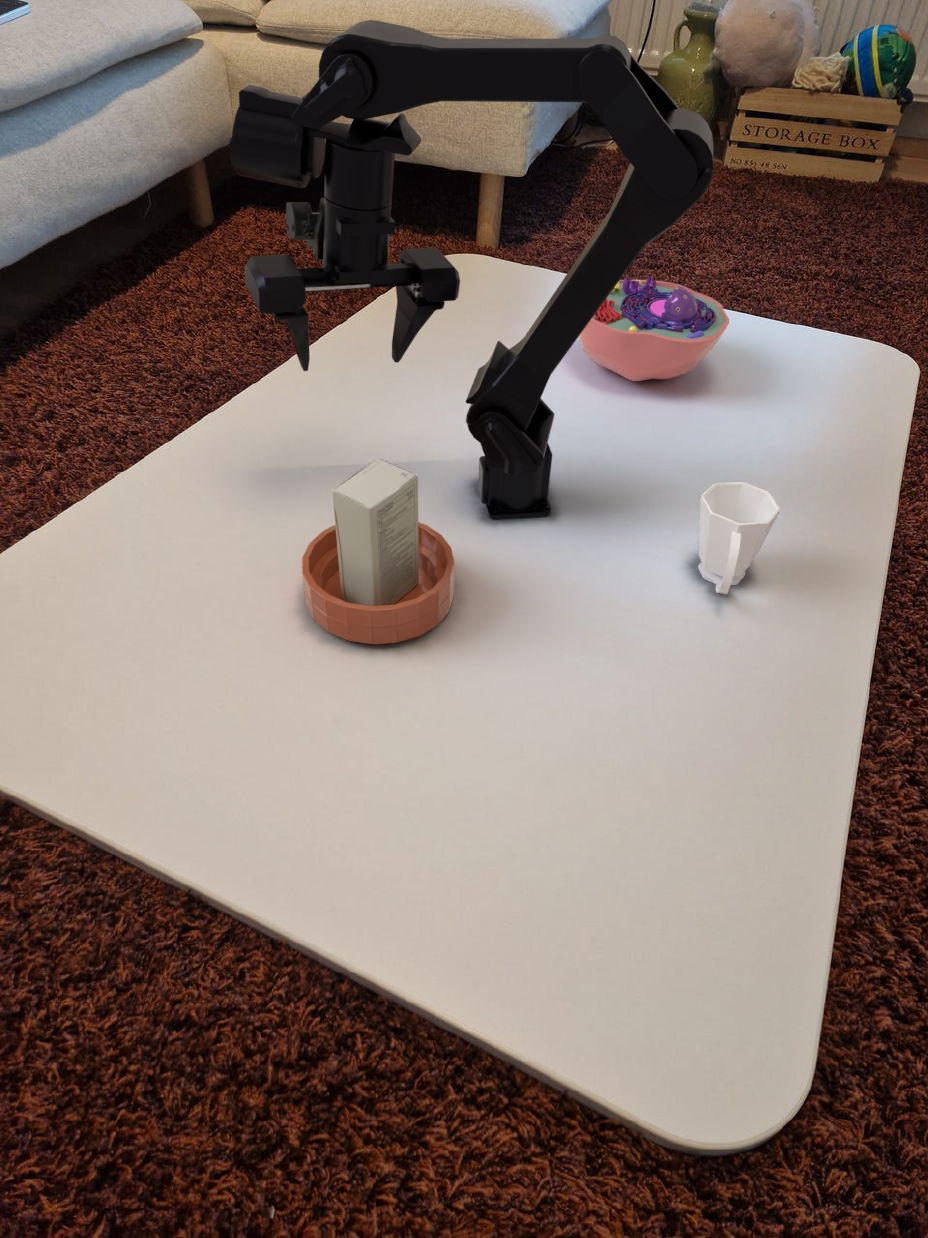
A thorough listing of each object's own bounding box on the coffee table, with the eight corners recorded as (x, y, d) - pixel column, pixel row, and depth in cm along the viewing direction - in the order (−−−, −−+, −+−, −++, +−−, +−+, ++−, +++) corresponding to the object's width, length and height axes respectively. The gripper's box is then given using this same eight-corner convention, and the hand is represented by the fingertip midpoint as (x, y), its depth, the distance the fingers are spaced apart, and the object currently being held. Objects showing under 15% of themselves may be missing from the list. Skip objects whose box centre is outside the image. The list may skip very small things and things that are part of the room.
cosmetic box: (384, 565, 86) (379, 454, 78) (421, 584, 84) (420, 472, 76) (338, 600, 82) (329, 487, 74) (376, 621, 80) (371, 507, 72)
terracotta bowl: (443, 549, 89) (443, 511, 86) (461, 643, 79) (463, 604, 76) (305, 558, 87) (301, 519, 84) (307, 654, 78) (302, 615, 75)
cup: (759, 556, 89) (781, 487, 84) (756, 622, 82) (780, 552, 77) (687, 543, 91) (703, 474, 85) (678, 607, 83) (695, 537, 78)
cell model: (602, 324, 127) (613, 241, 119) (737, 367, 118) (758, 281, 111) (537, 370, 117) (544, 282, 109) (679, 420, 108) (698, 329, 101)
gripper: (424, 163, 86) (410, 319, 97) (225, 165, 80) (234, 332, 90) (472, 208, 79) (451, 371, 90) (258, 215, 73) (263, 390, 83)
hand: (350, 364), depth 89 cm, fingers open, 9 cm apart
